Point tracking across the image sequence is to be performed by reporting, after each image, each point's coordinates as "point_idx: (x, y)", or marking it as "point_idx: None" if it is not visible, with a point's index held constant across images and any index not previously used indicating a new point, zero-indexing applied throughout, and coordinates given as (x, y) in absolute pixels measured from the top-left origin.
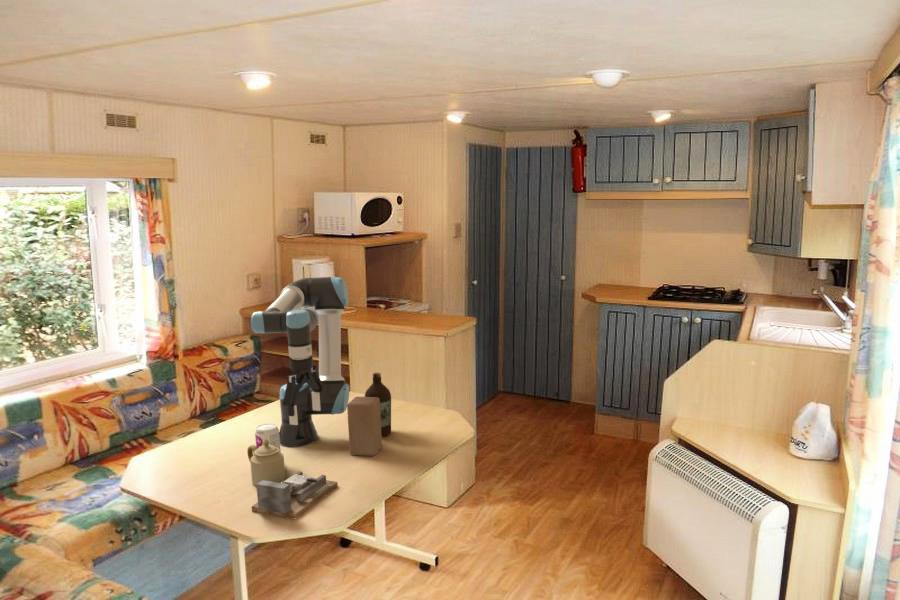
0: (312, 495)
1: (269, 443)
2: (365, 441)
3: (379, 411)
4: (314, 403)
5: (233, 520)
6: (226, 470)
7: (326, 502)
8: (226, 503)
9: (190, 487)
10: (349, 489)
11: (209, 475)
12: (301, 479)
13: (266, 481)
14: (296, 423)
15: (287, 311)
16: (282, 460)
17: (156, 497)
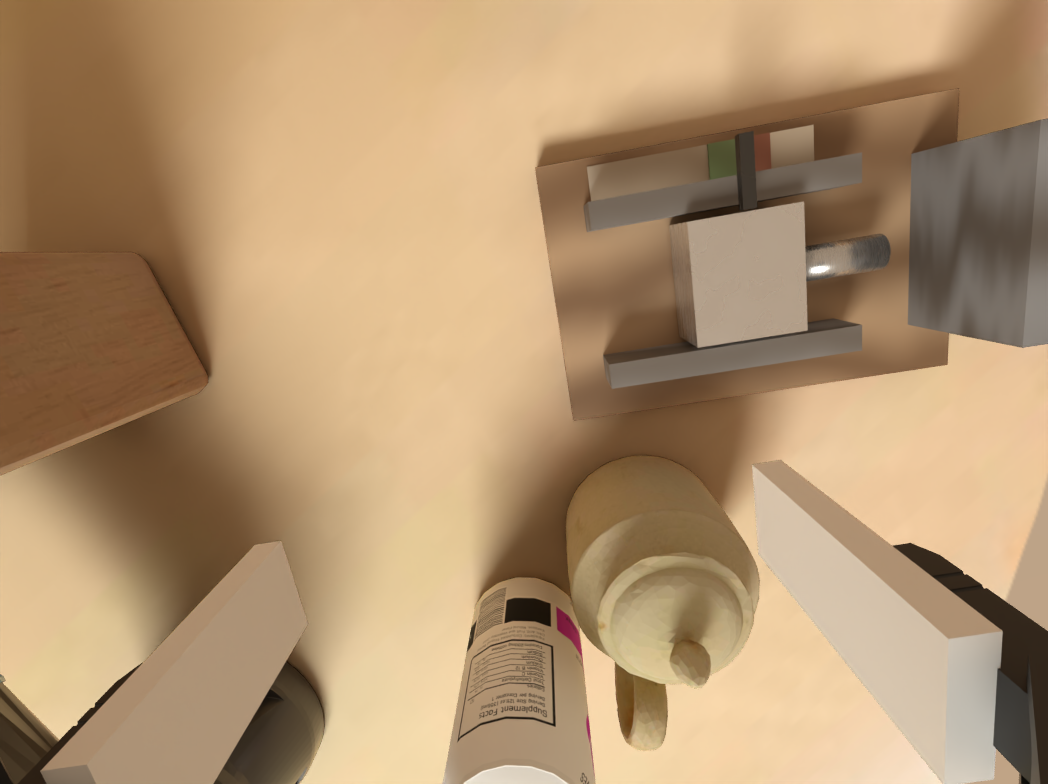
0: None
1: (561, 689)
2: (100, 302)
3: None
4: (254, 664)
5: (1036, 363)
6: None
7: (718, 82)
8: (902, 513)
9: (828, 737)
10: (535, 78)
11: (707, 756)
12: (742, 256)
13: (1037, 307)
14: (792, 469)
15: None
16: (630, 508)
17: None
